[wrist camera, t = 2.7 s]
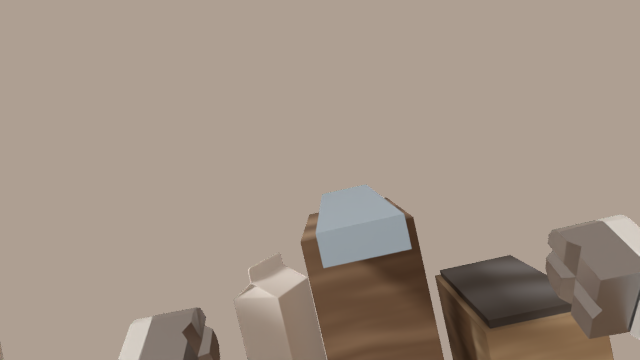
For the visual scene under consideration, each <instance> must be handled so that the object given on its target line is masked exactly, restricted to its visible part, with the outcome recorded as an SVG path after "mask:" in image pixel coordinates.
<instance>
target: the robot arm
mask: <svg viewBox="0 0 640 360" xmlns="http://www.w3.org/2000/svg"><path fill="white" fill-rule="evenodd" d="M548 244H549V245H550V247H551V248H552V249H553V251H552V252H551V253H550V254H549V255H548V257H547V258H546V272H547V276H548V280H549V282H550V284H551V286H552V288H553V290H554V291H555V293H556V294H557V296H558V297H559V298H560V299H562V300H564V301H566V302H568V303H570V304H572V307H571V315H572V317H573V318H574V319H575V321H576V322H577V324H578V325H579V326H580V328H581V329H582V330H583V332H584V333H585V335H586V336H587V337H588V339H593V338H598V337H604V336H609V335H615V334H621V333H626V332H630V334H631V335H632V336H634V337H635V338H637V339H639V340H640V228H639V227H638V226H637V225H636V224H635V223H634V222H633V221H631V220H630V219H629V218H628V217H626V216H623V215H616V216H612V217H608V218H603V219H599V220H597V221H590V222H585V223H581V224H576V225H572V226H568V227H564V228H559V229H554V230H552V231H551V233H550V234H549V238H548ZM205 320H206V316H205V315H204V313H203V311H202V310H201V308H192V309H186V310H182V311H176V312H171V313H166V314H161V315H156V316H152V317H147V318H141V319H136V320H135V321H134V322H133V323H132V324H131V325H130V327H129V330H128V333H127V336H126V338H125V341H124V344H123V347H122V350H121V353H120V355H119V359H118V360H220V353H219V344H218V340H217V337H216V335H215V333H214V331H213V329H211V328H209V327H207V326H205ZM0 360H4V359H3V354H2V349H1V344H0Z"/></svg>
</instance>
